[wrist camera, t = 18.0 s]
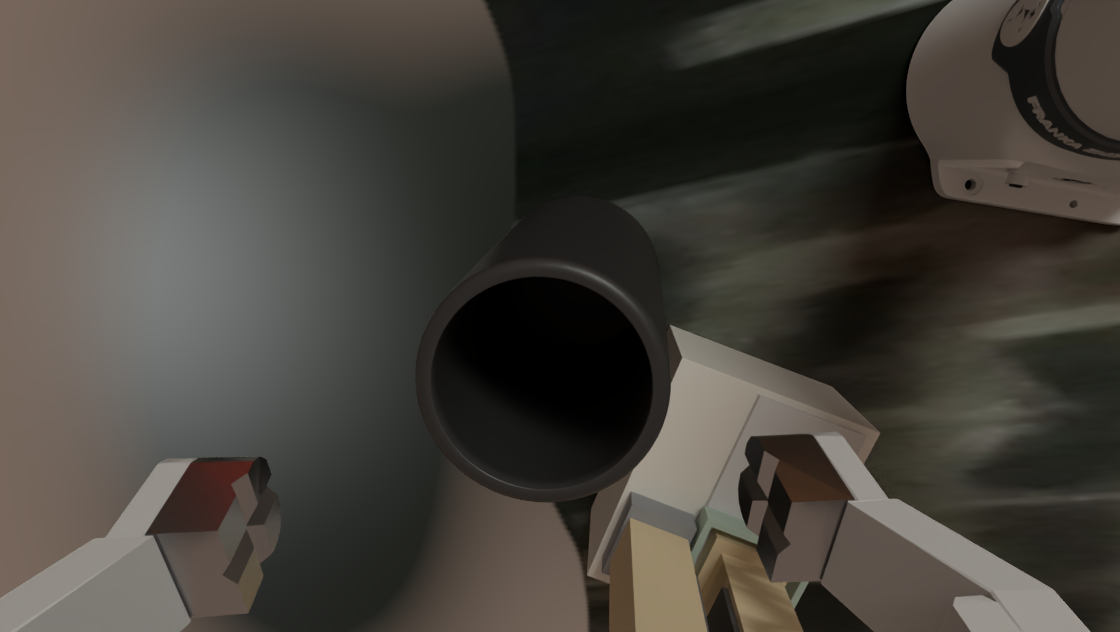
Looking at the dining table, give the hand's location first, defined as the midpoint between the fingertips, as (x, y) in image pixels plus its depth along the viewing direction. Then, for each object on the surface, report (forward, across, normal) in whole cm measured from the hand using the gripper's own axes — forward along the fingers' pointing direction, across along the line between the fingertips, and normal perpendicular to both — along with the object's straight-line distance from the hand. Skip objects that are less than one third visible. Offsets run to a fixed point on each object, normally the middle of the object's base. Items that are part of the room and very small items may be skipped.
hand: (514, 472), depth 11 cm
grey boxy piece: (+33, +17, -30) cm, 48 cm away
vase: (+40, +6, -16) cm, 43 cm away
